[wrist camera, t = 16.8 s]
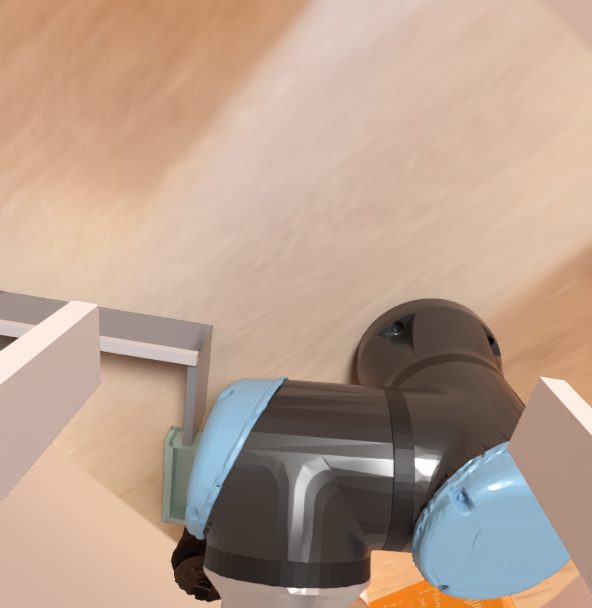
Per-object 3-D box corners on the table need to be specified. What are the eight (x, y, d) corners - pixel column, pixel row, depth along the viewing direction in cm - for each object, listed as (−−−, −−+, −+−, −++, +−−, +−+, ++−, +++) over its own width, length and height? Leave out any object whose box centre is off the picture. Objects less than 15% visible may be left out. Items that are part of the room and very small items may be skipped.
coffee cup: (219, 512, 57) (193, 614, 45) (185, 470, 54) (148, 567, 42) (274, 492, 55) (263, 593, 43) (242, 447, 52) (221, 542, 40)
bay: (212, 324, 46) (196, 355, 40) (205, 412, 51) (189, 451, 45) (-3, 289, 46) (-53, 315, 40) (9, 381, 51) (-34, 416, 44)
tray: (274, 442, 53) (272, 456, 50) (260, 520, 58) (258, 536, 56) (171, 426, 52) (165, 440, 50) (167, 506, 58) (161, 521, 56)
